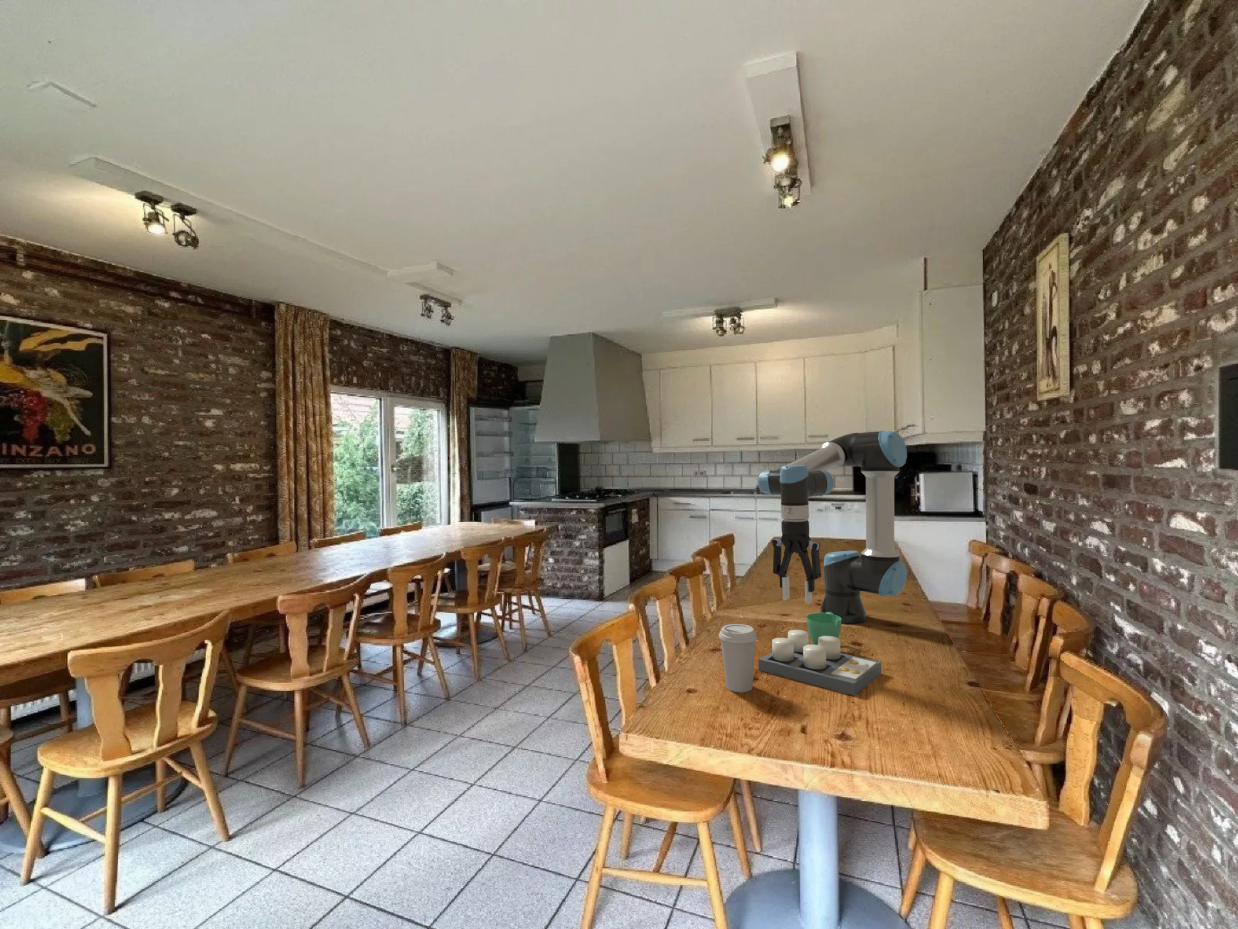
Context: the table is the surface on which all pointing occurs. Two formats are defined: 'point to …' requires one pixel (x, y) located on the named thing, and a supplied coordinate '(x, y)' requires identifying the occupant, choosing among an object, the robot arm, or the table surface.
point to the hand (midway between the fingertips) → (797, 601)
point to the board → (826, 672)
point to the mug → (823, 625)
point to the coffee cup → (738, 656)
